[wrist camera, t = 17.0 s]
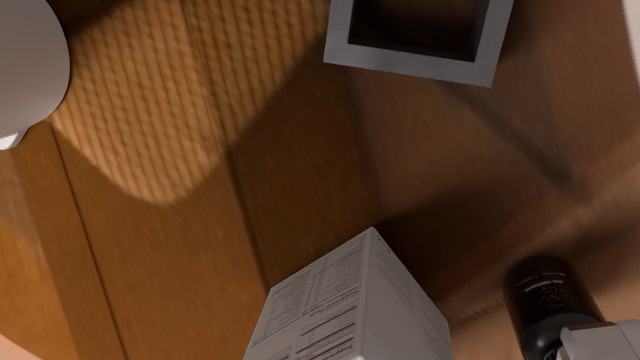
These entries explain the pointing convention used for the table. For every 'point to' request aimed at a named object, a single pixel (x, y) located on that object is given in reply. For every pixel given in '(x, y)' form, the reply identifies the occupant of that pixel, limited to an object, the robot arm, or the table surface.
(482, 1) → the graphite collar stand
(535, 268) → the supplement bottle
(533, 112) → the table surface
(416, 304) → the supplement box
